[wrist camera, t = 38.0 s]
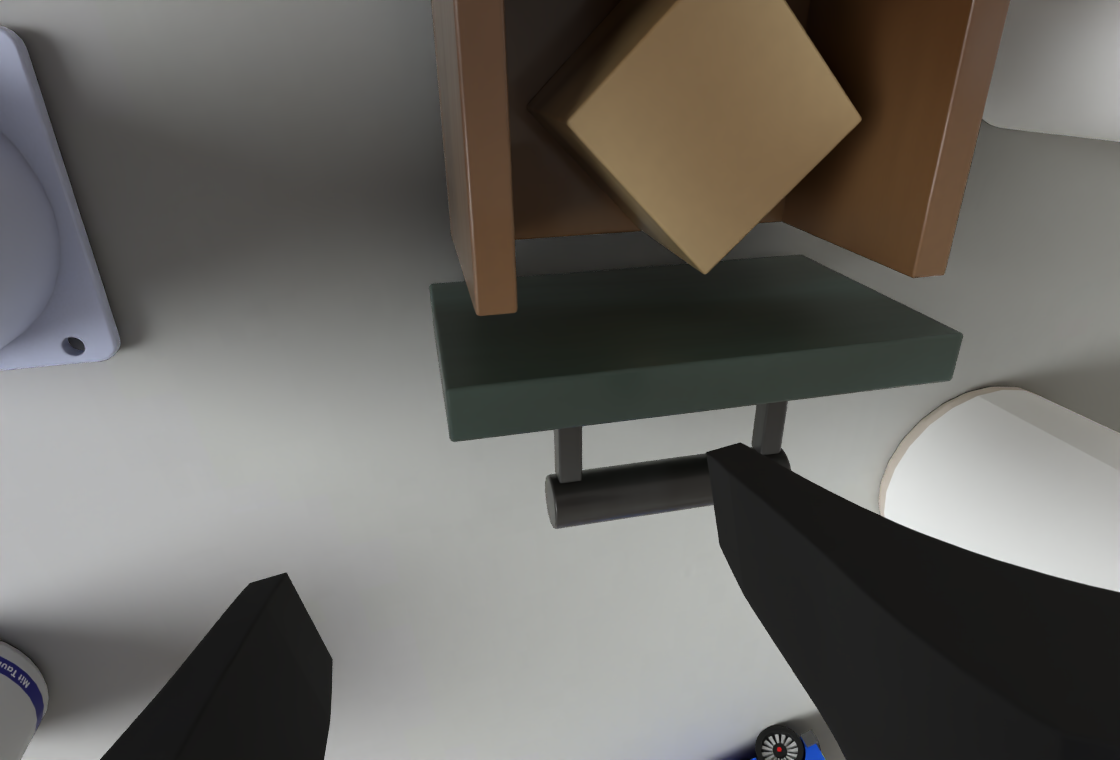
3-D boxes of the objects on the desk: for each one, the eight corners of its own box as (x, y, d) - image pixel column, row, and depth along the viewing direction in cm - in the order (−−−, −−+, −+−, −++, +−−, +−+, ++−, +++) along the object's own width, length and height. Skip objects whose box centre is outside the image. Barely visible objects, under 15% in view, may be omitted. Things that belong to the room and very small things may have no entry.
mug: (897, 591, 30) (1113, 821, 21) (837, 454, 26) (1076, 669, 17) (1115, 461, 30) (1434, 640, 21) (1090, 300, 25) (1477, 436, 16)
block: (639, 229, 18) (705, 277, 14) (524, 106, 16) (564, 123, 12) (761, 105, 18) (865, 119, 14) (655, -40, 16) (742, -70, 12)
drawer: (779, 410, 23) (912, 532, 17) (446, 452, 21) (466, 608, 15) (870, -216, 16) (1154, -378, 10) (374, -249, 14) (358, -479, 8)
